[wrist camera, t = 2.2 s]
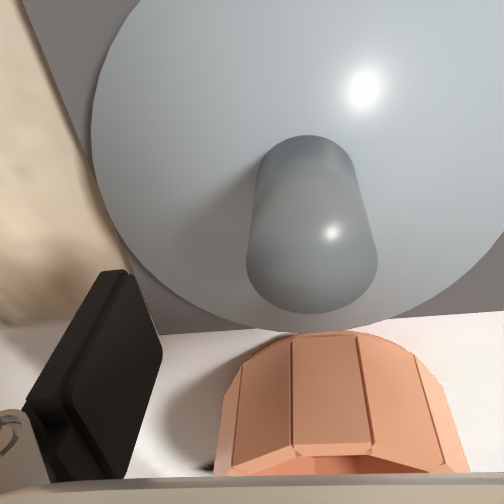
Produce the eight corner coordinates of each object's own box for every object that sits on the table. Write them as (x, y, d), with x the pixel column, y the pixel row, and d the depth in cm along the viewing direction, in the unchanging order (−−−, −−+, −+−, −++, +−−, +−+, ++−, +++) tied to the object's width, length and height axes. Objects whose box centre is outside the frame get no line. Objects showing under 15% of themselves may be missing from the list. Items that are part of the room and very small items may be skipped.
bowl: (208, 332, 22) (185, 447, 17) (444, 315, 20) (493, 438, 15) (247, 454, 28) (238, 564, 23) (429, 449, 26) (461, 566, 22)
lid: (27, -28, 12) (-117, -3, 8) (577, -146, 10) (794, -201, 6) (167, 327, 20) (133, 438, 16) (493, 302, 18) (558, 422, 14)
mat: (16, -48, 13) (2, -47, 12) (589, -174, 11) (608, -179, 10) (163, 323, 21) (159, 335, 21) (496, 297, 19) (503, 310, 19)
